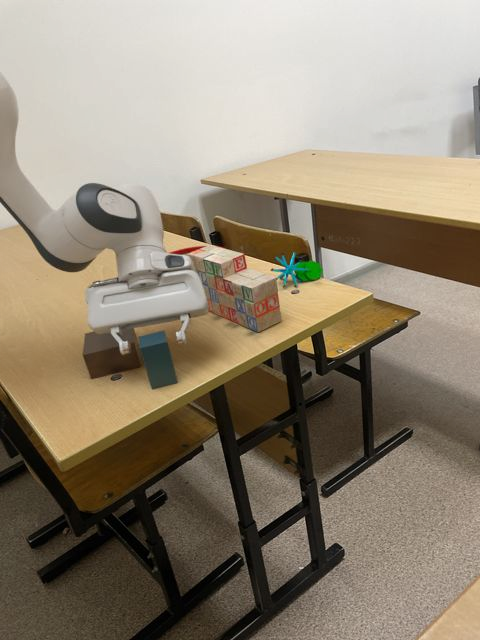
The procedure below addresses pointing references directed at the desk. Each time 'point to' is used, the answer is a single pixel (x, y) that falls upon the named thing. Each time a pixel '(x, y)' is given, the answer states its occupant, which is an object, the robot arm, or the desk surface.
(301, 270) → the stick construction toy
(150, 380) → the teal block
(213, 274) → the stack of blocks
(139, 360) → the walnut block
